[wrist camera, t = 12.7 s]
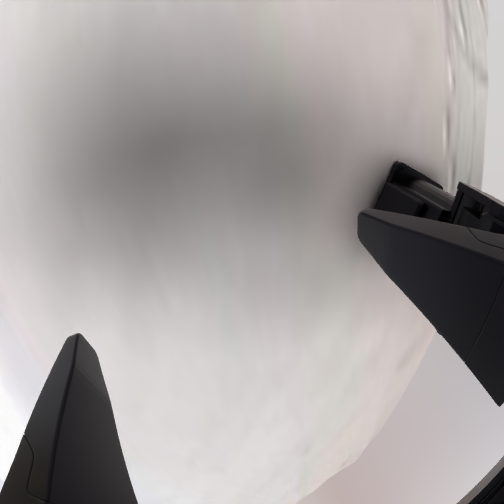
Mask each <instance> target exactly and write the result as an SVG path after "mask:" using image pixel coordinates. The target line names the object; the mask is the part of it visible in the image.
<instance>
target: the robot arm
mask: <svg viewBox="0 0 504 504" xmlns="http://www.w3.org/2000/svg"><path fill="white" fill-rule="evenodd" d="M399 167H400V169H399ZM398 169H399V170H398ZM457 189H458V190H457V193H456V196H455V197H454V196H453V195H451V194H449V193H447V192H445V191H443V187H442V186H441V185H439V184H438V183H436V182H435V181H433V180H431V179H430V178H428V177H426V176H425V175H423V174H421V173H420V172H418V171H416V170H414V169H413V168H411V167H409V166H407V165H406V164H404V163H402V162H399V161H398V162H396V163H395V164H394V166H393V168H392V170H391V173H390V175H389V177H388V180H387V182H386V184H385V187H384V189H383V191H382V193H381V195H380V198H379V200H378V202H377V204H376V206H375V209H366V210H364V211H361V212H360V213H359V214H358V238H359V240H360V242H361V243H362V244H363V245H364V247H365V248H366V249H367V250H368V252H369V253H370V254H371V255H372V257H373V258H374V259H375V260H376V262H377V263H378V264H379V266H380V267H381V268H382V269H383V271H384V272H385V273H386V274H387V275H388V276H389V278H390V279H391V280H392V281H393V282H394V283H395V284H396V285H397V286H398V287H399V288H400V289H401V290H402V291H403V293H404V294H405V295H406V296H407V297H408V298H409V299H410V300H411V301H412V302H413V303H414V305H415V306H416V307H417V308H418V309H419V310H420V311H421V312H422V313H423V315H424V316H425V317H426V318H427V319H428V320H429V321H430V323H431V324H432V325H433V326H434V327H435V329H436V330H437V332H438V333H439V334H440V335H442V336H443V338H445V340H446V341H447V342H448V343H449V345H450V346H451V347H452V348H453V349H454V351H455V352H456V353H457V354H458V355H459V357H460V358H461V359H462V360H463V361H464V362H465V364H466V365H467V367H468V368H469V369H470V370H471V372H472V373H473V374H474V375H475V377H476V378H477V379H478V380H479V382H480V383H481V384H482V386H483V387H484V388H485V389H486V391H487V392H488V393H489V395H490V396H491V397H492V399H493V400H494V401H495V403H496V404H497V405H498V406H499V407H500V406H501V405H502V404H503V403H504V203H503V202H502V201H500V200H498V199H496V198H494V197H492V196H491V195H489V194H487V193H484V192H482V191H480V190H478V189H476V188H473V187H471V186H469V185H467V184H464V183H462V182H460V181H459V184H458V187H457ZM24 434H25V435H23V437H22V439H21V442H20V445H19V447H18V450H17V453H16V455H15V458H14V461H13V463H12V465H11V468H10V470H9V473H8V475H7V477H6V480H5V482H4V485H3V487H2V490H1V492H0V504H138V502H137V499H136V496H135V493H134V490H133V487H132V484H131V481H130V477H129V474H128V471H127V467H126V464H125V460H124V456H123V453H122V449H121V445H120V441H119V437H118V433H117V429H116V424H115V420H114V415H113V410H112V406H111V401H110V398H109V394H108V391H107V388H106V385H105V381H104V378H103V374H102V371H101V367H100V363H99V359H98V356H97V354H96V352H95V350H94V349H93V348H92V346H91V345H90V344H89V343H88V342H87V340H86V339H85V338H84V337H83V335H82V334H80V333H77V334H74V335H72V336H69V337H68V338H67V339H66V341H65V343H64V345H63V347H62V349H61V351H60V353H59V355H58V357H57V359H56V361H55V363H54V365H53V367H52V369H51V372H50V374H49V376H48V378H47V380H46V382H45V384H44V387H43V389H42V391H41V393H40V396H39V398H38V400H37V402H36V405H35V407H34V409H33V412H32V414H31V417H30V419H29V422H28V424H27V427H26V429H25V432H24ZM457 504H504V456H503V457H502V459H501V460H500V461H499V462H498V463H497V464H496V465H495V466H494V468H493V469H492V470H491V471H490V472H489V473H488V474H487V475H486V476H485V477H484V478H483V479H482V480H481V481H480V482H479V483H478V484H477V485H476V486H475V487H474V488H473V489H472V490H471V491H470V492H469V493H468V494H467V495H466V496H465V497H464V498H462V499H461V500H460V501H459V502H458V503H457Z"/></svg>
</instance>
